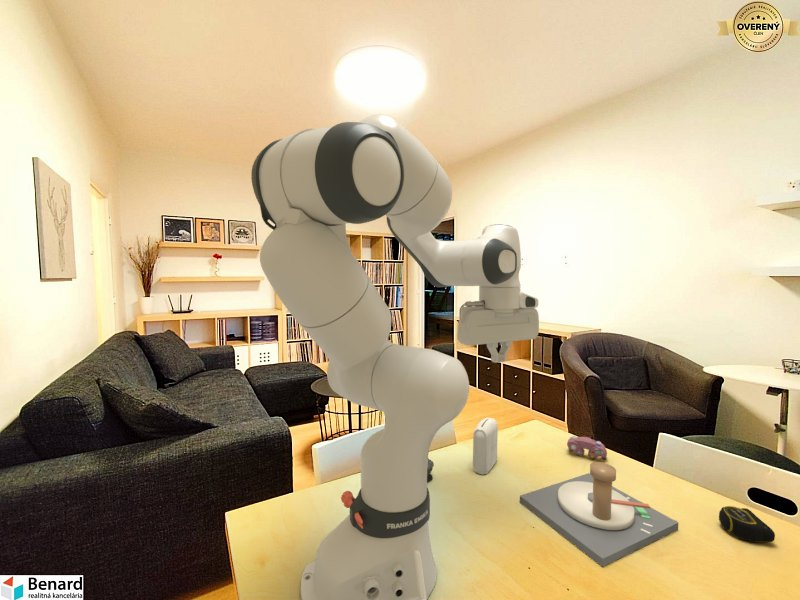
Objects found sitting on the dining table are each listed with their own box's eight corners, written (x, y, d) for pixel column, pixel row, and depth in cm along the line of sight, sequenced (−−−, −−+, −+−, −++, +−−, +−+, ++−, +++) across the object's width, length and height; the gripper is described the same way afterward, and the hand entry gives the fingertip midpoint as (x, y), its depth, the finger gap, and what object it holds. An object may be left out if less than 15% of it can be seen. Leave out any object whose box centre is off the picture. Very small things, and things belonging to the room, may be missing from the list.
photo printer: (483, 455, 102) (484, 412, 101) (499, 459, 100) (499, 415, 99) (470, 472, 93) (471, 425, 92) (487, 477, 91) (487, 428, 90)
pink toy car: (566, 457, 103) (565, 440, 100) (569, 445, 107) (567, 428, 104) (606, 467, 98) (606, 449, 95) (607, 454, 101) (607, 436, 98)
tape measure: (776, 549, 67) (778, 529, 66) (732, 542, 68) (733, 523, 68) (750, 524, 73) (751, 506, 73) (710, 519, 75) (711, 501, 75)
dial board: (602, 567, 62) (602, 557, 62) (519, 502, 81) (519, 494, 81) (678, 529, 72) (678, 521, 71) (588, 479, 90) (588, 472, 90)
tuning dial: (564, 524, 71) (566, 468, 70) (553, 484, 84) (554, 437, 84) (665, 539, 67) (667, 480, 66) (635, 494, 80) (637, 445, 80)
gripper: (468, 302, 73) (468, 370, 74) (544, 299, 82) (543, 360, 82) (451, 300, 79) (451, 363, 80) (523, 298, 87) (523, 354, 88)
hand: (498, 361), depth 81 cm, fingers closed
